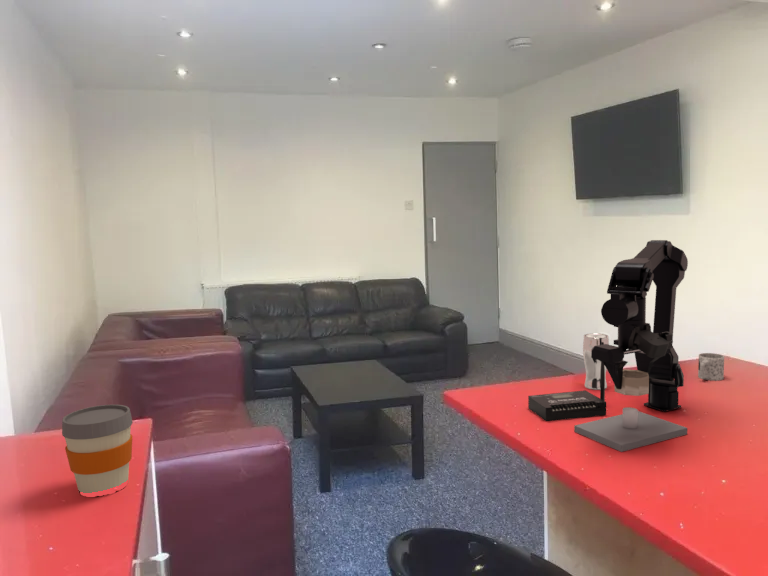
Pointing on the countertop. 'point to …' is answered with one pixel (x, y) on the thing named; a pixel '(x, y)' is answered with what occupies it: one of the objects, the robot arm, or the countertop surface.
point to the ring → (634, 383)
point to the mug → (711, 366)
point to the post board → (630, 430)
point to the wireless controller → (570, 403)
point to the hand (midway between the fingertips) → (630, 386)
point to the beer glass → (593, 360)
